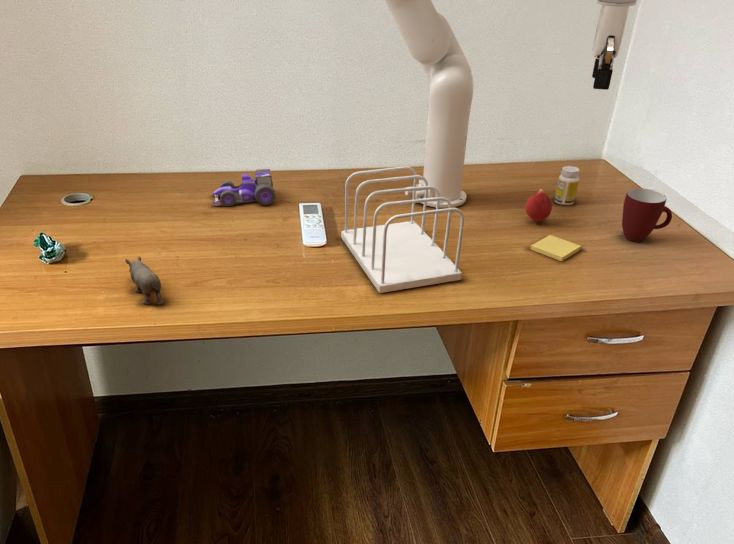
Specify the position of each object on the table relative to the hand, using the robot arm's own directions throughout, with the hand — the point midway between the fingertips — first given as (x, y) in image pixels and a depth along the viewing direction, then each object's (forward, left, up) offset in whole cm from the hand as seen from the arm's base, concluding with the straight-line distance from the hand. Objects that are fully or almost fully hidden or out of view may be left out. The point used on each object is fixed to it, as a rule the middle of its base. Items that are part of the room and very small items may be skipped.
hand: (599, 83), depth 146 cm
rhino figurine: (-103, +1, -29) cm, 107 cm away
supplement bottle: (0, +3, -29) cm, 29 cm away
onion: (-14, -4, -29) cm, 32 cm away
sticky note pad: (-19, -17, -29) cm, 39 cm away
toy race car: (-72, +36, -29) cm, 86 cm away
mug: (+2, -20, -29) cm, 35 cm away
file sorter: (-52, -7, -29) cm, 60 cm away
